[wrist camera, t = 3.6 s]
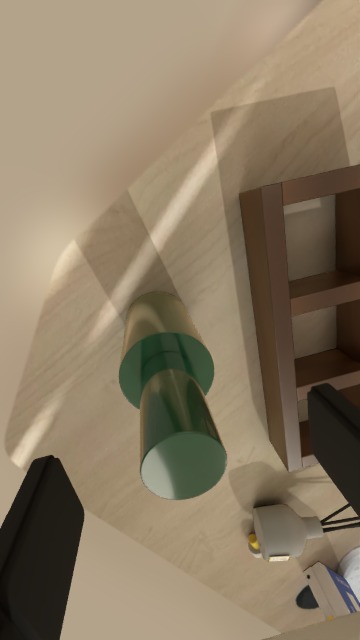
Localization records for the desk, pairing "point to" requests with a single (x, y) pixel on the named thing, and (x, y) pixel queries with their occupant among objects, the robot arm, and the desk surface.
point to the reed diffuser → (287, 531)
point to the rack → (302, 304)
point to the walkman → (331, 592)
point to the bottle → (171, 398)
